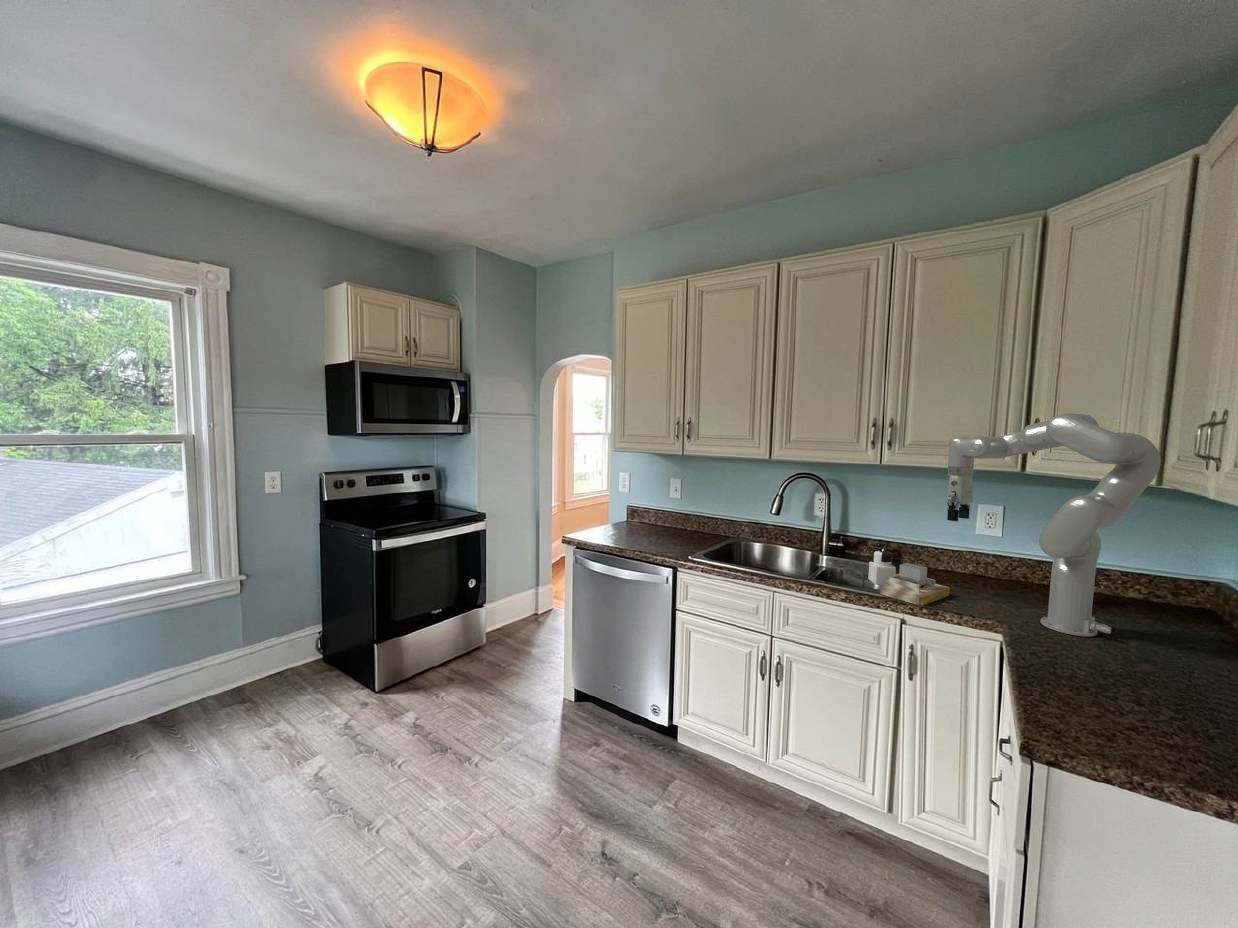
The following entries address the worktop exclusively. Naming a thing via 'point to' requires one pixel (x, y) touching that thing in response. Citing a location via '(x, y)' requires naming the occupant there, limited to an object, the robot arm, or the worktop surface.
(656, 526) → the worktop surface
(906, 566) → the grey block
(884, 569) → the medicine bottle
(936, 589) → the loading dock
